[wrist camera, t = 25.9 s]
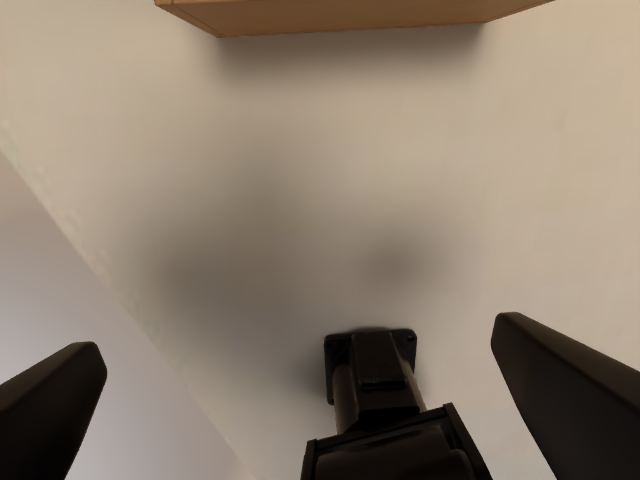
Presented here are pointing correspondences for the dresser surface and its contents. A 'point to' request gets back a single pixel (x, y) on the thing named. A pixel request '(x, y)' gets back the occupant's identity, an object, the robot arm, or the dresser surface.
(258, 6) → the carton
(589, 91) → the dresser surface
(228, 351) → the dresser surface
